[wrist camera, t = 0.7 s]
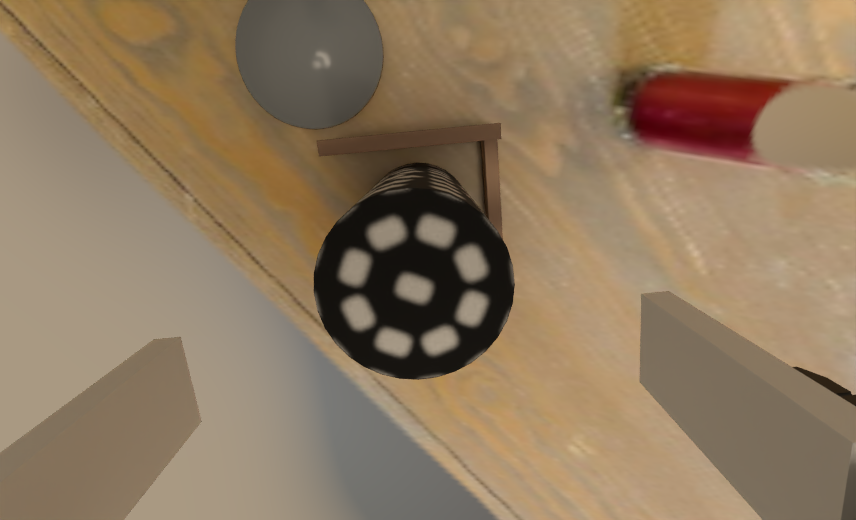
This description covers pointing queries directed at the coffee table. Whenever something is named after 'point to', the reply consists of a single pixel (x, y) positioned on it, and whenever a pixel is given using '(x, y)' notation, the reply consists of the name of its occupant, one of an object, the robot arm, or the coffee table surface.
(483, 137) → the rack
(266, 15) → the coaster
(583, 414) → the coffee table surface
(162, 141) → the coffee table surface
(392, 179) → the spotted tube
